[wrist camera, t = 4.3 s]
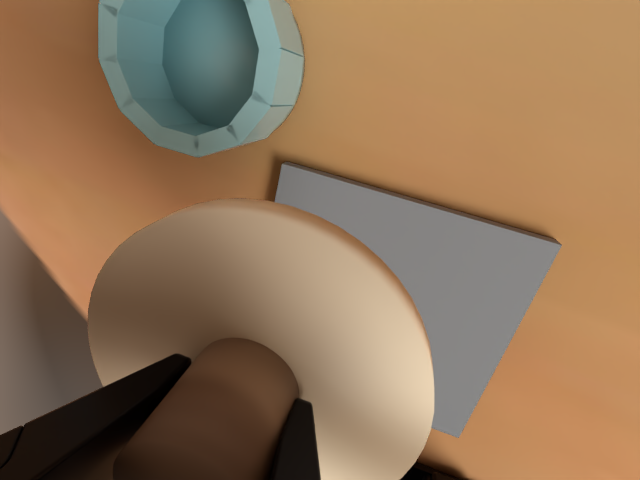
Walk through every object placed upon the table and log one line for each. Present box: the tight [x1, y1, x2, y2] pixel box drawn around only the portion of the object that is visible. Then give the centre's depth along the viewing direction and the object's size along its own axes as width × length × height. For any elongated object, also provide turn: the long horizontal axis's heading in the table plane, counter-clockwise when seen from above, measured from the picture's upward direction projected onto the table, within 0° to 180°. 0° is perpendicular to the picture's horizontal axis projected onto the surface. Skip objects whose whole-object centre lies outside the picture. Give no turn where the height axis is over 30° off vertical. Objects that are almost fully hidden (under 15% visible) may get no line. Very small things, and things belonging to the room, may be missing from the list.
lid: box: [88, 198, 434, 480], centre depth 9 cm, size 9×9×4 cm
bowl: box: [98, 0, 305, 158], centre depth 17 cm, size 8×8×4 cm
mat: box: [275, 162, 562, 438], centre depth 21 cm, size 13×14×1 cm
